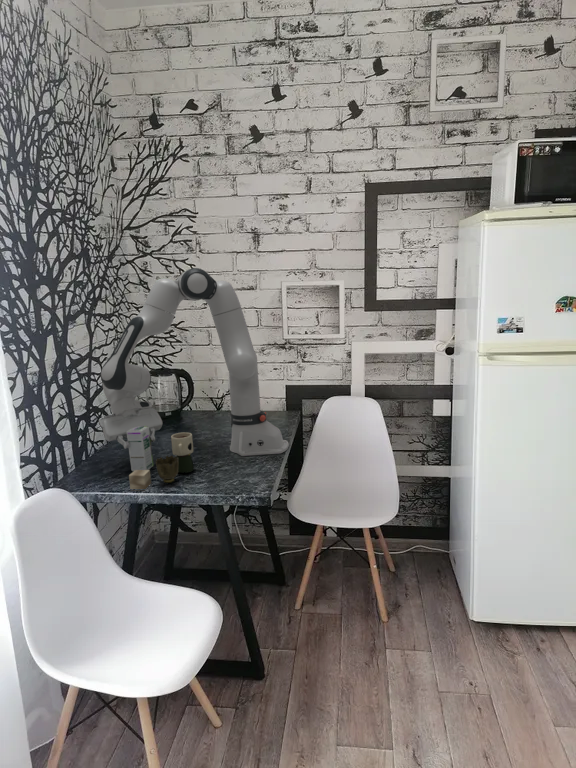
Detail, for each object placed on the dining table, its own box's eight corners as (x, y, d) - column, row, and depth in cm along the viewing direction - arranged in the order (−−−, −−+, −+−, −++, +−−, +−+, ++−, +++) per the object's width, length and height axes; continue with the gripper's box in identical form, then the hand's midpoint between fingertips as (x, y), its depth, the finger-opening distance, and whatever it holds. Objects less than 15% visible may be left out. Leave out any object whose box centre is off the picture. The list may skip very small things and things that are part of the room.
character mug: (193, 476, 186) (190, 439, 183) (172, 478, 186) (168, 440, 183) (197, 465, 196) (193, 430, 194) (176, 466, 196) (173, 431, 194)
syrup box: (146, 471, 189) (142, 430, 186) (130, 471, 190) (126, 430, 187) (154, 466, 194) (149, 425, 191) (138, 465, 195) (133, 425, 192)
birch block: (151, 484, 181) (149, 469, 180) (145, 490, 176) (143, 475, 175) (136, 484, 182) (135, 469, 181) (130, 490, 177) (128, 475, 176)
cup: (160, 488, 177) (158, 464, 175) (155, 481, 183) (152, 458, 182) (183, 483, 180) (181, 459, 178) (177, 476, 186) (174, 453, 185)
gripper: (98, 412, 187) (112, 446, 181) (155, 401, 199) (169, 432, 193) (95, 422, 192) (109, 456, 186) (151, 411, 204) (165, 442, 198)
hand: (140, 444), depth 190 cm, fingers closed on syrup box, 8 cm apart
